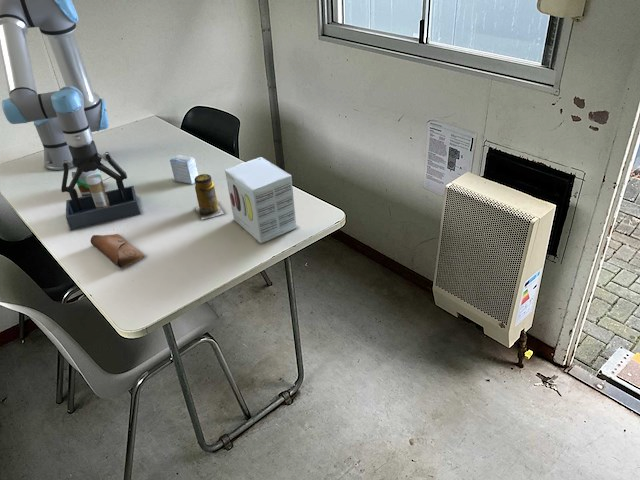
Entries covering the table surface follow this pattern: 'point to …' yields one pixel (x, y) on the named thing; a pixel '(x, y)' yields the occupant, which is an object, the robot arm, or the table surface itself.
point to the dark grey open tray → (102, 209)
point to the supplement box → (261, 198)
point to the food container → (83, 184)
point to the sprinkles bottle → (97, 191)
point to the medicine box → (184, 169)
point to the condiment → (206, 197)
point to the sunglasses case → (116, 249)
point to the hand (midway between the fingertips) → (102, 203)
